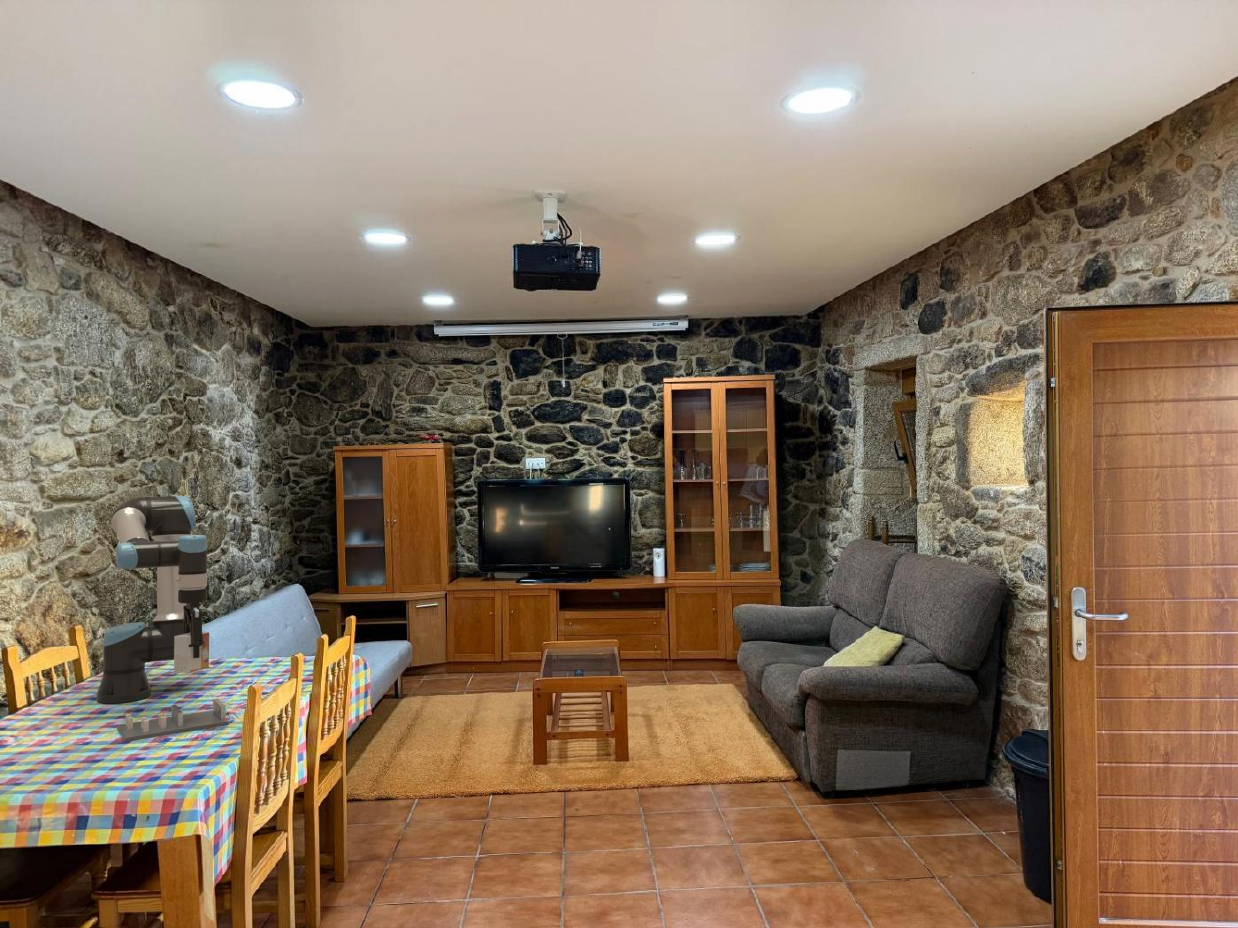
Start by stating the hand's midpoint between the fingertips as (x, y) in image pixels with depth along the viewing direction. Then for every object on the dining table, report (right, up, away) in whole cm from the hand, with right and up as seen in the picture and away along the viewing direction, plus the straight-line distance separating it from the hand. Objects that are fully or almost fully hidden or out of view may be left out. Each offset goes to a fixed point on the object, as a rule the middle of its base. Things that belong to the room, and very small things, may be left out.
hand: (192, 666), depth 248 cm
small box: (0, -1, 0) cm, 1 cm away
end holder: (+2, -16, 0) cm, 17 cm away
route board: (-4, -16, -4) cm, 17 cm away
